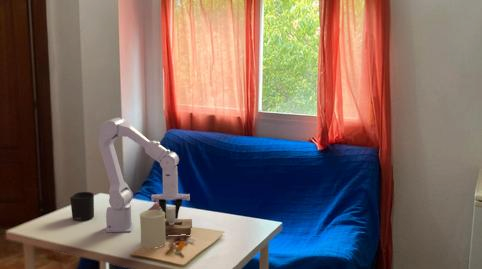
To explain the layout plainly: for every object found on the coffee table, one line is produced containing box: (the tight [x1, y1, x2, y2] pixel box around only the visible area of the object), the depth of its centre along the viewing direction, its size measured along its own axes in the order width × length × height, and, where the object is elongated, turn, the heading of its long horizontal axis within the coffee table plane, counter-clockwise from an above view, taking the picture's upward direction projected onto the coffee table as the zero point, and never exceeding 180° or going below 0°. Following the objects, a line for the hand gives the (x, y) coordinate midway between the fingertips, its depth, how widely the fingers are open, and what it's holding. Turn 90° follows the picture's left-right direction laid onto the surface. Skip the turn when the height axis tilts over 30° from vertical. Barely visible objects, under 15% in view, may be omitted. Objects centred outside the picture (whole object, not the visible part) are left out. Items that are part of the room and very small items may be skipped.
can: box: [139, 209, 167, 249], centre depth 185 cm, size 9×9×12 cm
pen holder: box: [69, 191, 95, 222], centre depth 212 cm, size 9×9×10 cm
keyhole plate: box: [165, 218, 193, 236], centre depth 197 cm, size 14×10×3 cm
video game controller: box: [147, 200, 162, 211], centre depth 220 cm, size 10×5×7 cm, turn 168°
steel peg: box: [166, 205, 176, 226], centre depth 197 cm, size 4×4×10 cm
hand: (171, 217), depth 196 cm, fingers closed on steel peg, 4 cm apart
